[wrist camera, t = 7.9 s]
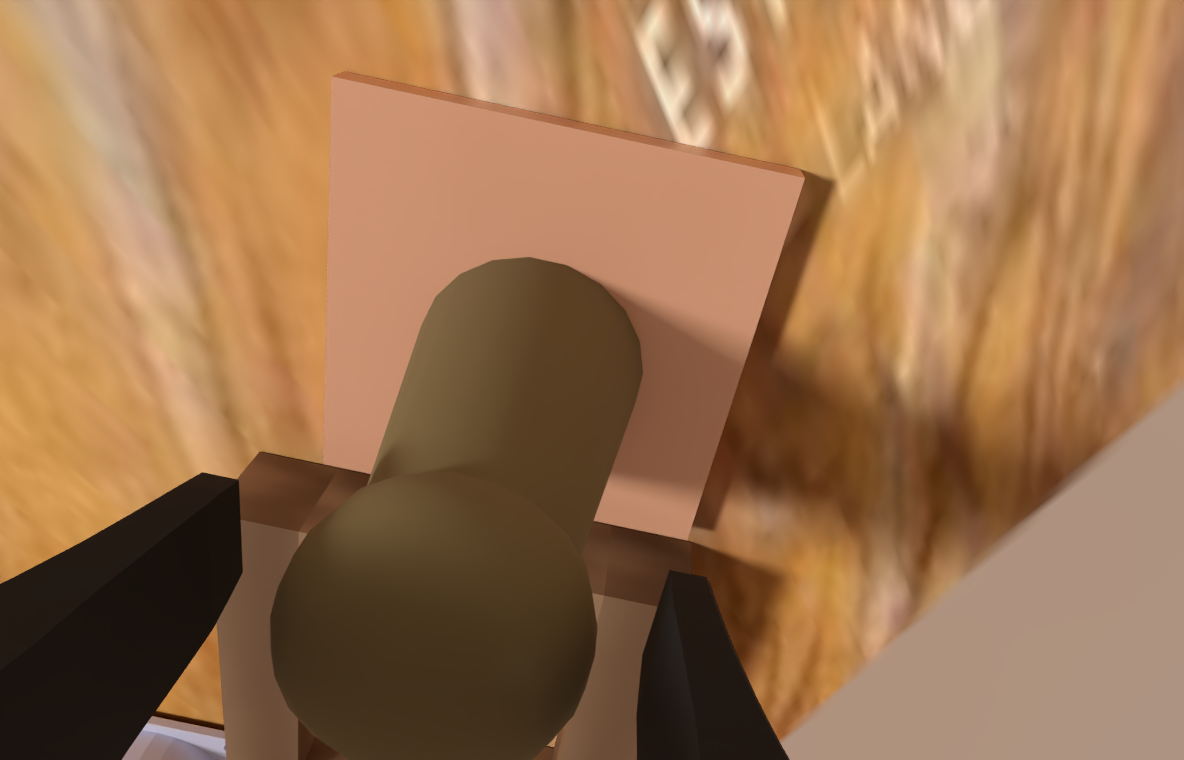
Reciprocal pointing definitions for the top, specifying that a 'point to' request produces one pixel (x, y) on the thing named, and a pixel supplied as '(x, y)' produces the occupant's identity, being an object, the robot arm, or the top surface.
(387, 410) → the terracotta tile
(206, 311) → the top surface
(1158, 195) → the top surface
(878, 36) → the top surface
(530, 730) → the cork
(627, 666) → the walnut holder
